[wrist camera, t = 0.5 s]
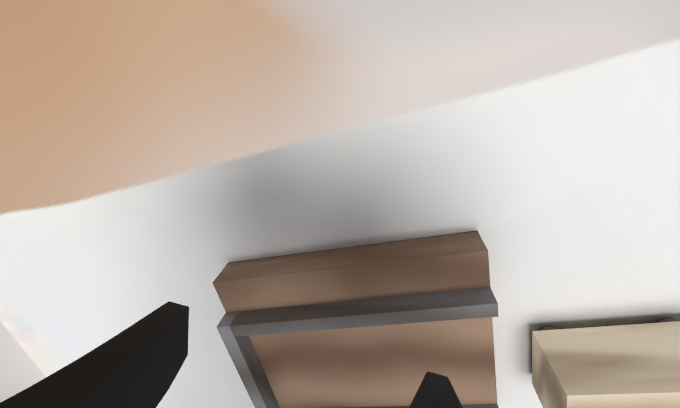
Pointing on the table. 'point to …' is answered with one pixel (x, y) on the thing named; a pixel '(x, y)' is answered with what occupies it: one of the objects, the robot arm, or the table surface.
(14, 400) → the robot arm
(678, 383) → the beige lidded box
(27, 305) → the table surface
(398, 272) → the dock
